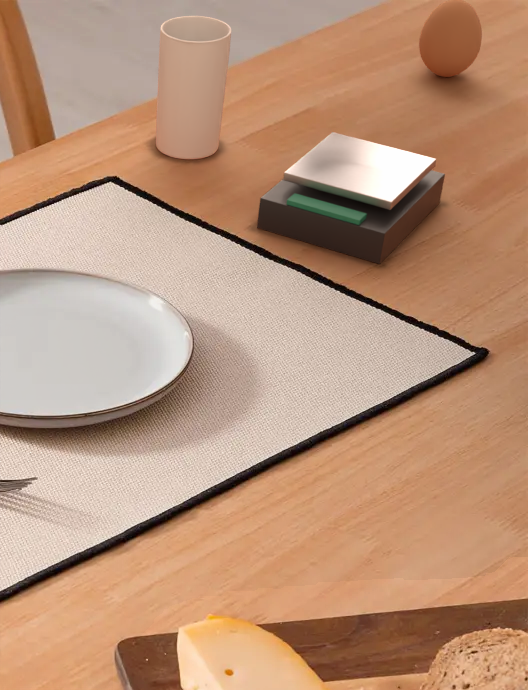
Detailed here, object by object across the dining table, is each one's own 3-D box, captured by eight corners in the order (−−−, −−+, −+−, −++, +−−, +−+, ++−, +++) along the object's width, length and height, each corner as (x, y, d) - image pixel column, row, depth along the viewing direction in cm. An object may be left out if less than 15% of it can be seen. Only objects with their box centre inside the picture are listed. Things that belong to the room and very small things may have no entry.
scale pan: (435, 166, 143) (436, 158, 142) (390, 210, 136) (391, 202, 135) (331, 139, 147) (332, 131, 147) (282, 180, 140) (283, 172, 140)
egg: (414, 61, 172) (426, -13, 167) (474, 66, 171) (488, -9, 166) (413, 83, 167) (426, 8, 162) (474, 89, 166) (489, 13, 161)
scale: (439, 203, 145) (446, 169, 143) (379, 264, 136) (385, 228, 134) (322, 171, 150) (326, 137, 148) (256, 227, 141) (260, 193, 139)
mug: (213, 165, 151) (224, 45, 144) (146, 156, 153) (153, 37, 145) (232, 123, 159) (243, 8, 152) (167, 115, 160) (175, 0, 153)
